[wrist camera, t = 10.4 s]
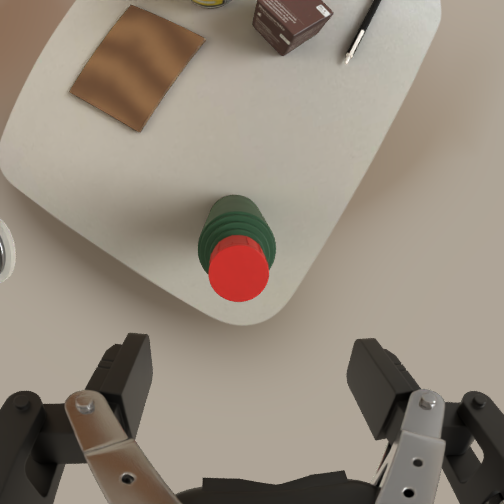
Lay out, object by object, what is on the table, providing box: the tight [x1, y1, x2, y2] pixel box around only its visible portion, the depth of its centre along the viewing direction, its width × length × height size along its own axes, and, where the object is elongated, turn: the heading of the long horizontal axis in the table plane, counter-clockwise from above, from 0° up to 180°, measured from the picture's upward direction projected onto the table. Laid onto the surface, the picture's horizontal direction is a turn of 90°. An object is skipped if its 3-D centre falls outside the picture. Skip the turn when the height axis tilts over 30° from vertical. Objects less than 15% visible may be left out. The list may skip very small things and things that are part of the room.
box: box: [252, 0, 334, 56], centre depth 29 cm, size 6×6×7 cm
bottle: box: [198, 195, 276, 275], centre depth 30 cm, size 6×6×18 cm
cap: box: [209, 235, 269, 302], centre depth 22 cm, size 4×4×3 cm
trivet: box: [69, 5, 206, 132], centre depth 32 cm, size 14×12×1 cm
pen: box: [344, 0, 381, 64], centre depth 31 cm, size 1×19×1 cm, turn 154°
